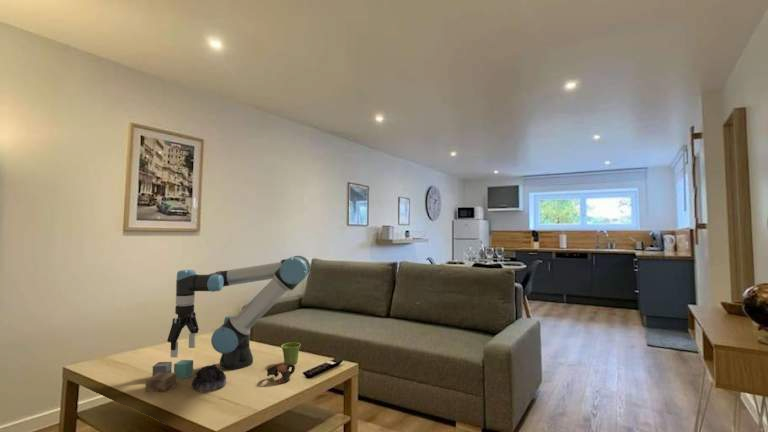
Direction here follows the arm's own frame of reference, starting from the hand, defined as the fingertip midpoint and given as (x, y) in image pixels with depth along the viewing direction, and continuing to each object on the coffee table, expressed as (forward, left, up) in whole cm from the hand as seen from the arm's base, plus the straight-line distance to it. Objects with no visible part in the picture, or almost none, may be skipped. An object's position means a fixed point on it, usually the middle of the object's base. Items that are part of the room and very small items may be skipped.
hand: (183, 352), depth 171 cm
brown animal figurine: (-46, +2, -11) cm, 47 cm away
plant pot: (-43, -19, -10) cm, 49 cm away
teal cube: (0, 0, -10) cm, 10 cm away
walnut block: (+1, +14, -11) cm, 17 cm away
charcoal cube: (+8, +3, -10) cm, 13 cm away
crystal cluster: (-18, +11, -11) cm, 24 cm away
